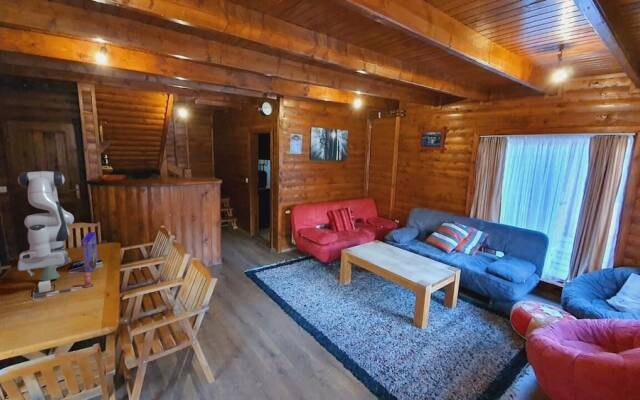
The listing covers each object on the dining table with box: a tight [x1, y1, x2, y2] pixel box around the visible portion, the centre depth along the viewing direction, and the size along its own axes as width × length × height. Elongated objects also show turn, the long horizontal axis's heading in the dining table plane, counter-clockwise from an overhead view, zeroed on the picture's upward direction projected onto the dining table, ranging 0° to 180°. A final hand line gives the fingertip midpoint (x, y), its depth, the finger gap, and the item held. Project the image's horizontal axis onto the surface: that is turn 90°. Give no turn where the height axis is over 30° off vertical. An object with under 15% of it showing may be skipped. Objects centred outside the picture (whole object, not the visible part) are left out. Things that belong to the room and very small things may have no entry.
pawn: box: [83, 272, 93, 289], centre depth 181 cm, size 4×4×9 cm
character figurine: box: [31, 264, 63, 282], centre depth 184 cm, size 16×8×18 cm, turn 123°
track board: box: [32, 283, 94, 301], centre depth 175 cm, size 5×28×1 cm, turn 131°
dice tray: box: [32, 282, 57, 297], centre depth 175 cm, size 10×10×2 cm
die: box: [37, 280, 52, 293], centre depth 175 cm, size 5×5×5 cm
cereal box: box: [81, 231, 99, 273], centre depth 208 cm, size 17×5×24 cm, turn 29°
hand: (43, 273), depth 173 cm, fingers open, 8 cm apart
